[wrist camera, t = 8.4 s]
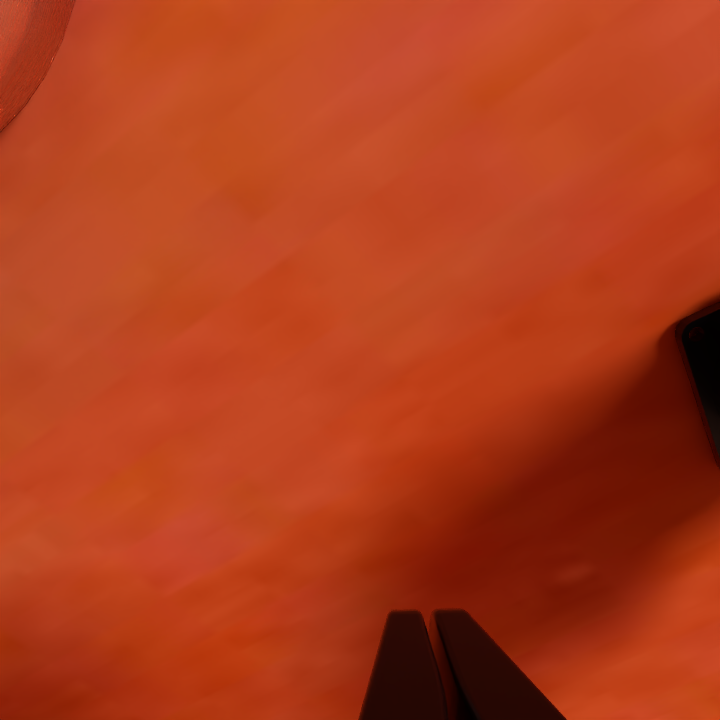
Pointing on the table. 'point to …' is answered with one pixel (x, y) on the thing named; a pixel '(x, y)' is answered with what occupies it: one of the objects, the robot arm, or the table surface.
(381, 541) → the table surface
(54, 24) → the pressure pot
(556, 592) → the table surface
